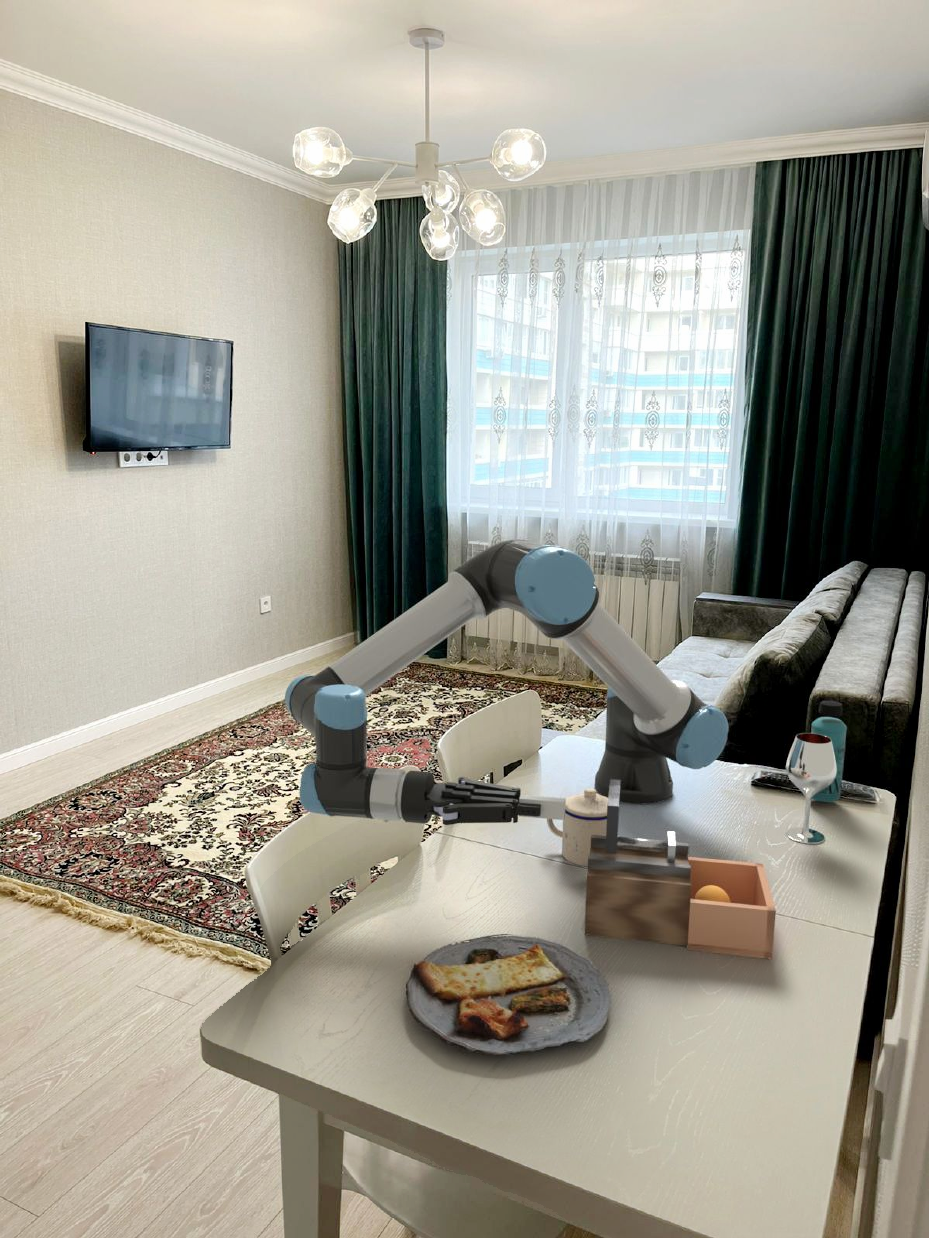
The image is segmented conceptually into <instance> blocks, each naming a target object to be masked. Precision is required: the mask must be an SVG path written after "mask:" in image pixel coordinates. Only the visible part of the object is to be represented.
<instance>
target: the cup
mask: <svg viewBox="0 0 929 1238" xmlns="http://www.w3.org/2000/svg"><path fill="white" fill-rule="evenodd" d="M688 860H689V865H691V874H690V881H691V892H690V907H689V924H688V940H687V947H686V948H687V950H688V951H695V952H704V953H712V954H713V953H715V954H723V955H732V956H740V957H747V958H748V957H750V958H758V959H766V958H768V960H772V959H773V953H774V952H773V951H774V950H773V949H774V948H773V947H774V937H775V926H776V924H775V923H776V914H777V911H776V907H775V904H774V903H775V902H774V899H773V896H772V893H771V889H770V884H769V881H768V877H767V873H766V870H765V865H764V863H759V862H749V861H737V860H727V859H715V858H706V857H704V858H703V857H694V856H688ZM708 885H714V886H718V887H720V888H721V889H723V890H724V891H725V892H726V893H727V895H728V896H729V899H730V903H726V902H716V901H707V900H697V899H695V895H696V893H697V892H698V891H699V890H700V889H701V888H703V887H705V886H708ZM769 958H770V959H769Z"/></svg>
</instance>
